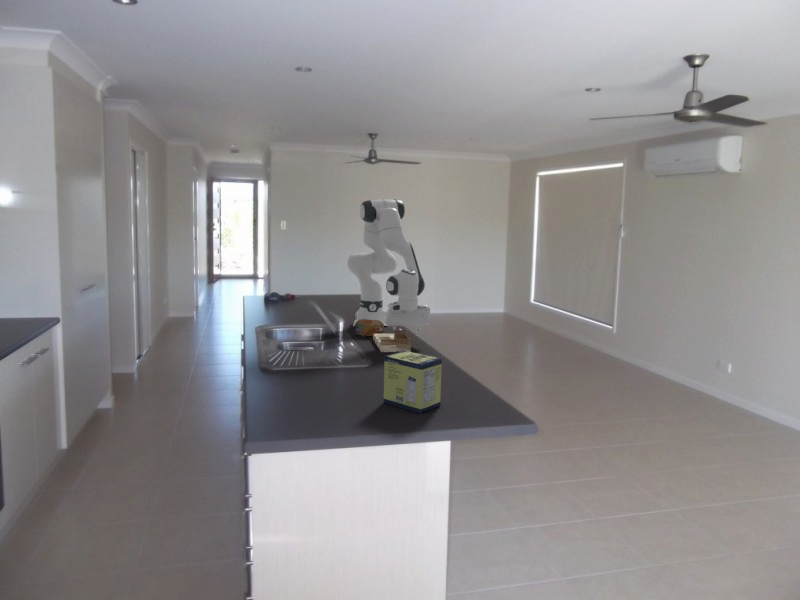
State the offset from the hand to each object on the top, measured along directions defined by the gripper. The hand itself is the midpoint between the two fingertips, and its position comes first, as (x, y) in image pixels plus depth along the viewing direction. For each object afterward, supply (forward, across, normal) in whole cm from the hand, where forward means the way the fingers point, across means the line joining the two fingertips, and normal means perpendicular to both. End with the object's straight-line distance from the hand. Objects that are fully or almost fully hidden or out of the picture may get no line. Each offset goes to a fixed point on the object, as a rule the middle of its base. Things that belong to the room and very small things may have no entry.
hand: (406, 335), depth 267 cm
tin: (+5, +14, -22) cm, 26 cm away
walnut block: (+2, +4, +3) cm, 5 cm away
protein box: (+5, +15, +81) cm, 83 cm away
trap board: (+5, +7, -1) cm, 9 cm away
